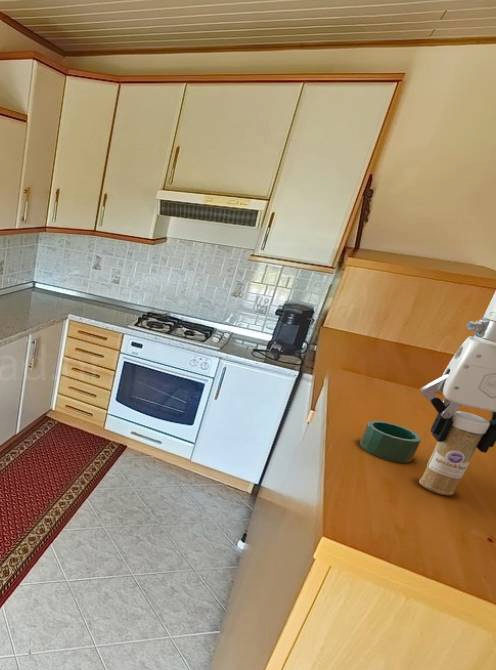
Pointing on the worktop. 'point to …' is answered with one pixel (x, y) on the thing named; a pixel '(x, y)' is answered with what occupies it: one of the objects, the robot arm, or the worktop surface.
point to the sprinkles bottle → (454, 453)
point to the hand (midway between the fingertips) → (458, 442)
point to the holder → (390, 441)
